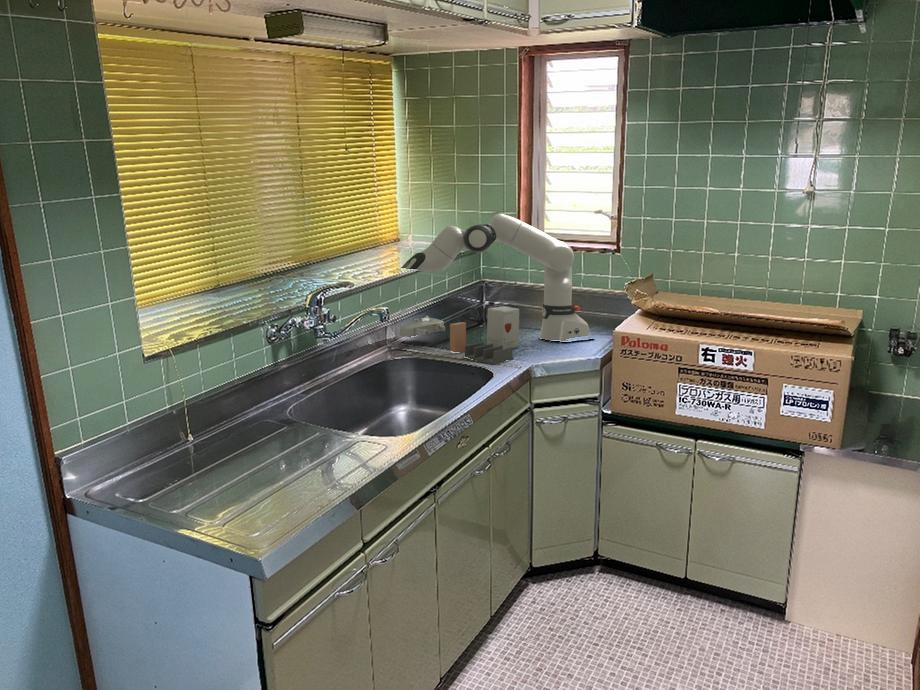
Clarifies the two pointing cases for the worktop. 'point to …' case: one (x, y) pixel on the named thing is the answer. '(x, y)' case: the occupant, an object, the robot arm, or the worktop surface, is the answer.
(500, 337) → the supplement box
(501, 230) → the robot arm
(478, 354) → the dish rack
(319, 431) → the worktop surface
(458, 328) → the tile
